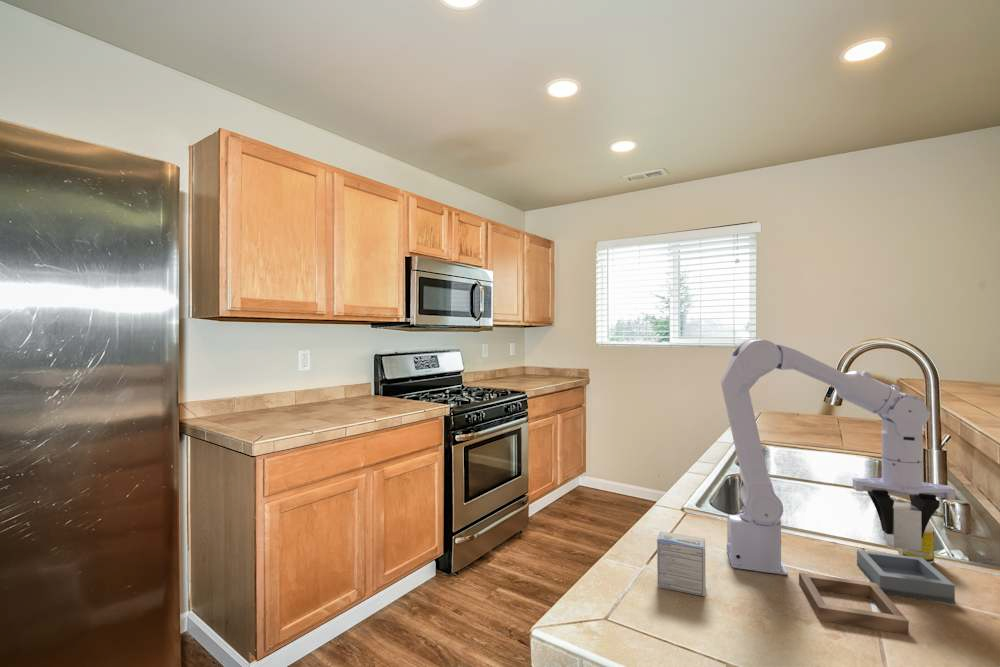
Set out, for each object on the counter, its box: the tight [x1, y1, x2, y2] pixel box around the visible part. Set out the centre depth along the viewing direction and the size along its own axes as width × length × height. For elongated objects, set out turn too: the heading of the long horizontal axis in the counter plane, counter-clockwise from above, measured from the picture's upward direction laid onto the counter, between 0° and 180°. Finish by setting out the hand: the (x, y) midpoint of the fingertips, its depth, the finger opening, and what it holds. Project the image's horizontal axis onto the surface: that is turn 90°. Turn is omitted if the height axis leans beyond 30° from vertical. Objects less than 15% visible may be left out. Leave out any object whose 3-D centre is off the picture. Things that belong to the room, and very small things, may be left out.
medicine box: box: [656, 530, 707, 597], centre depth 85 cm, size 8×4×9 cm, turn 65°
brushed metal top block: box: [883, 501, 922, 551], centre depth 86 cm, size 4×4×7 cm
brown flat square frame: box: [798, 572, 910, 635], centre depth 79 cm, size 12×12×2 cm
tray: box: [856, 549, 956, 604], centre depth 86 cm, size 10×10×3 cm
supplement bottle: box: [897, 521, 935, 565], centre depth 96 cm, size 5×5×10 cm
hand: (902, 533), depth 86 cm, fingers closed on brushed metal top block, 4 cm apart
